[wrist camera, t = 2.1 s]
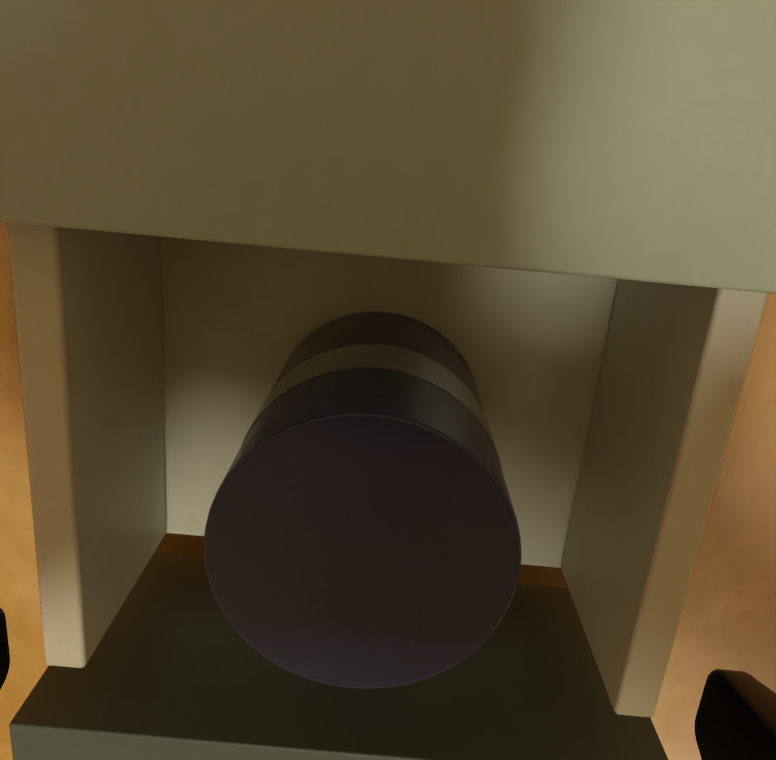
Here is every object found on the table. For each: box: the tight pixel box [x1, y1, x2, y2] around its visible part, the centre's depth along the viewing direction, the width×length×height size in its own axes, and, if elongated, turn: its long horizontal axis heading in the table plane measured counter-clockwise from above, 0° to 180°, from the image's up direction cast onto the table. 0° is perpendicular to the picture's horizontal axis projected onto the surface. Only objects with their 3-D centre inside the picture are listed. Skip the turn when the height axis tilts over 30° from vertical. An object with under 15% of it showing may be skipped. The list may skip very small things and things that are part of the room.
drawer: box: [7, 222, 768, 760], centre depth 16 cm, size 19×13×6 cm
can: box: [204, 312, 522, 689], centre depth 14 cm, size 5×5×6 cm
